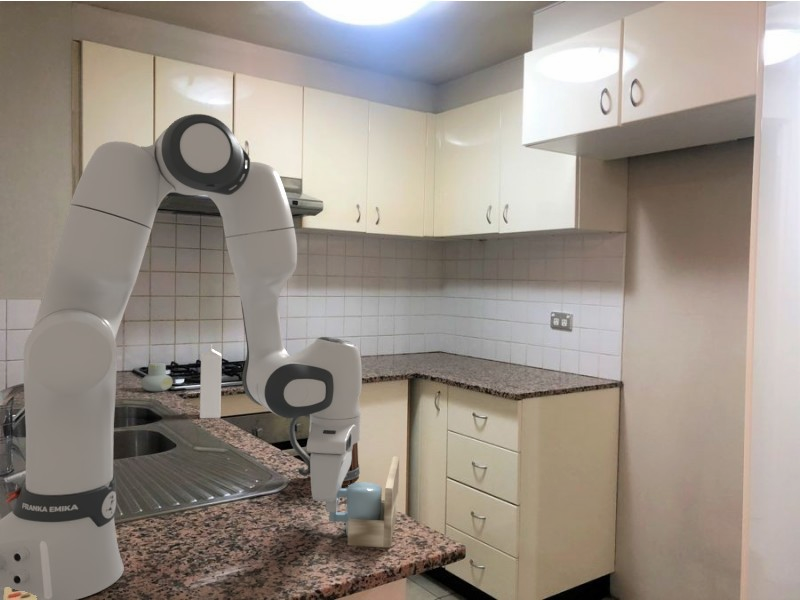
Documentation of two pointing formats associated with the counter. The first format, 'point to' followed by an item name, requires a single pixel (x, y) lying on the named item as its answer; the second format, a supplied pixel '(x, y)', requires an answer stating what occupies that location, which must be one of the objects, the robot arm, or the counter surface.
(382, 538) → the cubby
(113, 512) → the robot arm
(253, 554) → the counter surface
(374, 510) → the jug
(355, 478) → the mug
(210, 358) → the milk
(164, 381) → the air freshener
